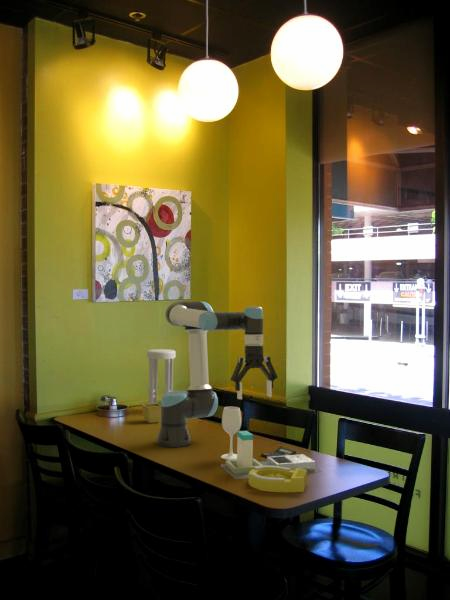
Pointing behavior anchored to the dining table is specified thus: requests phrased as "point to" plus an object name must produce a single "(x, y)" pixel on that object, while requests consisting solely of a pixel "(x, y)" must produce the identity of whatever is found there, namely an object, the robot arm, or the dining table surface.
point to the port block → (292, 462)
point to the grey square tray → (233, 463)
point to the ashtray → (278, 479)
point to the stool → (153, 371)
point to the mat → (246, 475)
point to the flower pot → (152, 412)
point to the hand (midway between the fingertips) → (254, 397)
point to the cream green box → (244, 449)
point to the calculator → (279, 452)
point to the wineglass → (231, 427)
